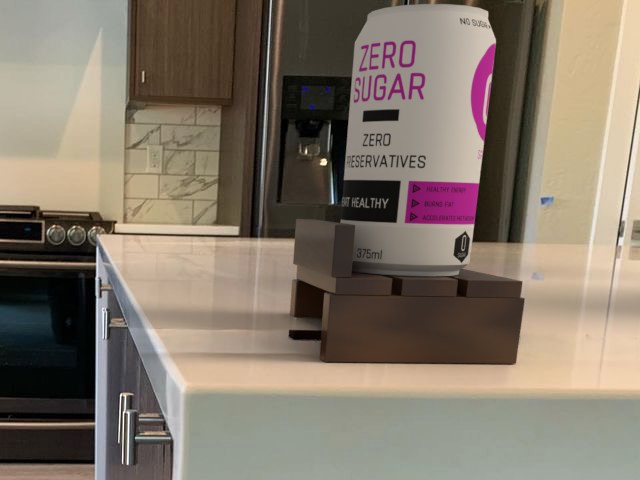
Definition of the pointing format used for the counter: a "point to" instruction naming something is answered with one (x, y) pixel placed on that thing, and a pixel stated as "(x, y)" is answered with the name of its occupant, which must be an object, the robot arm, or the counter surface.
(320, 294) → the rack
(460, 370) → the counter surface
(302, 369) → the counter surface
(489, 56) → the supplement can
